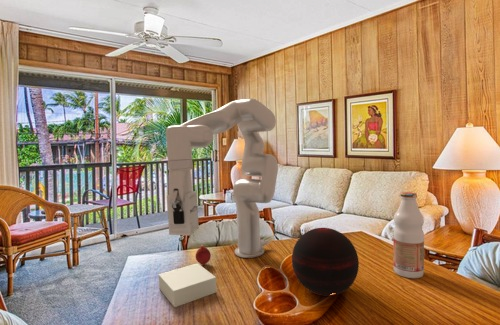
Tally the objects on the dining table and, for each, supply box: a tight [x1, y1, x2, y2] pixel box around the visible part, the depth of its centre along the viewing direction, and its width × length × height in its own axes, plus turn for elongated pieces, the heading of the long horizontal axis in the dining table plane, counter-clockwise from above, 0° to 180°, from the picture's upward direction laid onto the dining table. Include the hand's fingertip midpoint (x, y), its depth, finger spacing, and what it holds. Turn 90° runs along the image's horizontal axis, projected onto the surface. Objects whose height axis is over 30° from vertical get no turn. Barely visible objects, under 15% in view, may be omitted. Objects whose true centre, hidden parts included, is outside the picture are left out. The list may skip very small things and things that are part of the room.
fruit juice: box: [392, 191, 425, 279], centre depth 104 cm, size 9×9×28 cm
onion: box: [195, 244, 212, 266], centre depth 119 cm, size 6×6×8 cm
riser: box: [158, 262, 218, 308], centre depth 99 cm, size 14×14×5 cm
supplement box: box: [166, 190, 199, 236], centre depth 97 cm, size 7×7×13 cm
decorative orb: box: [291, 227, 360, 297], centre depth 94 cm, size 20×20×20 cm
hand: (183, 219), depth 97 cm, fingers closed on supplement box, 7 cm apart
